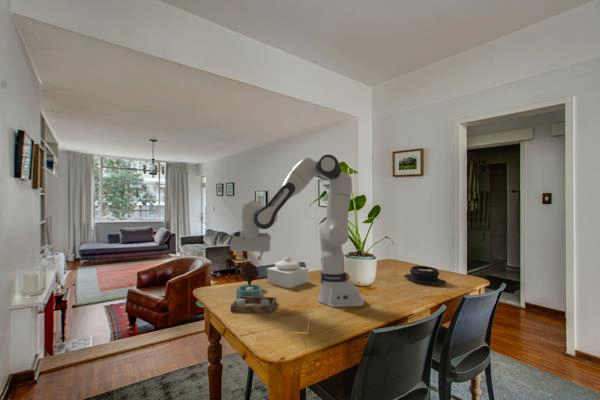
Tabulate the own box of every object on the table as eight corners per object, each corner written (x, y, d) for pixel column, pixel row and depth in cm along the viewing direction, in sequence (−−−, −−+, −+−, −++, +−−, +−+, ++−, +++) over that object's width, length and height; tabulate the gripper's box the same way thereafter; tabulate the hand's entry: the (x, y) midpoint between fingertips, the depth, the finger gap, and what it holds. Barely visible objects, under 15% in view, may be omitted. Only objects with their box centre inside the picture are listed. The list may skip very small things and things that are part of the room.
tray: (276, 303, 137) (276, 297, 137) (271, 314, 124) (271, 307, 124) (239, 302, 138) (239, 296, 138) (230, 312, 125) (230, 305, 125)
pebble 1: (246, 307, 130) (246, 298, 130) (243, 310, 127) (243, 301, 127) (237, 307, 131) (238, 298, 131) (235, 310, 127) (235, 301, 127)
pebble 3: (269, 308, 129) (269, 299, 129) (268, 311, 126) (268, 302, 126) (261, 307, 130) (261, 299, 130) (259, 311, 126) (259, 302, 126)
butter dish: (308, 282, 174) (308, 256, 174) (287, 289, 161) (287, 260, 161) (287, 277, 186) (287, 253, 186) (266, 283, 172) (266, 256, 173)
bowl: (263, 294, 151) (263, 284, 151) (258, 301, 139) (258, 292, 139) (241, 293, 152) (241, 284, 152) (234, 300, 140) (234, 291, 140)
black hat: (397, 279, 182) (397, 266, 182) (413, 275, 194) (413, 263, 194) (436, 289, 162) (436, 274, 163) (451, 284, 174) (452, 270, 174)
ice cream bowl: (255, 291, 155) (255, 264, 155) (236, 290, 157) (236, 263, 157) (262, 286, 165) (262, 260, 165) (243, 285, 167) (244, 259, 167)
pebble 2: (254, 294, 147) (254, 286, 147) (252, 297, 143) (252, 289, 143) (246, 294, 148) (246, 286, 148) (244, 296, 144) (244, 288, 144)
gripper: (271, 232, 148) (271, 259, 148) (233, 232, 150) (233, 258, 150) (269, 233, 142) (269, 261, 142) (229, 233, 144) (229, 260, 143)
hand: (250, 260), depth 146 cm, fingers open, 8 cm apart
